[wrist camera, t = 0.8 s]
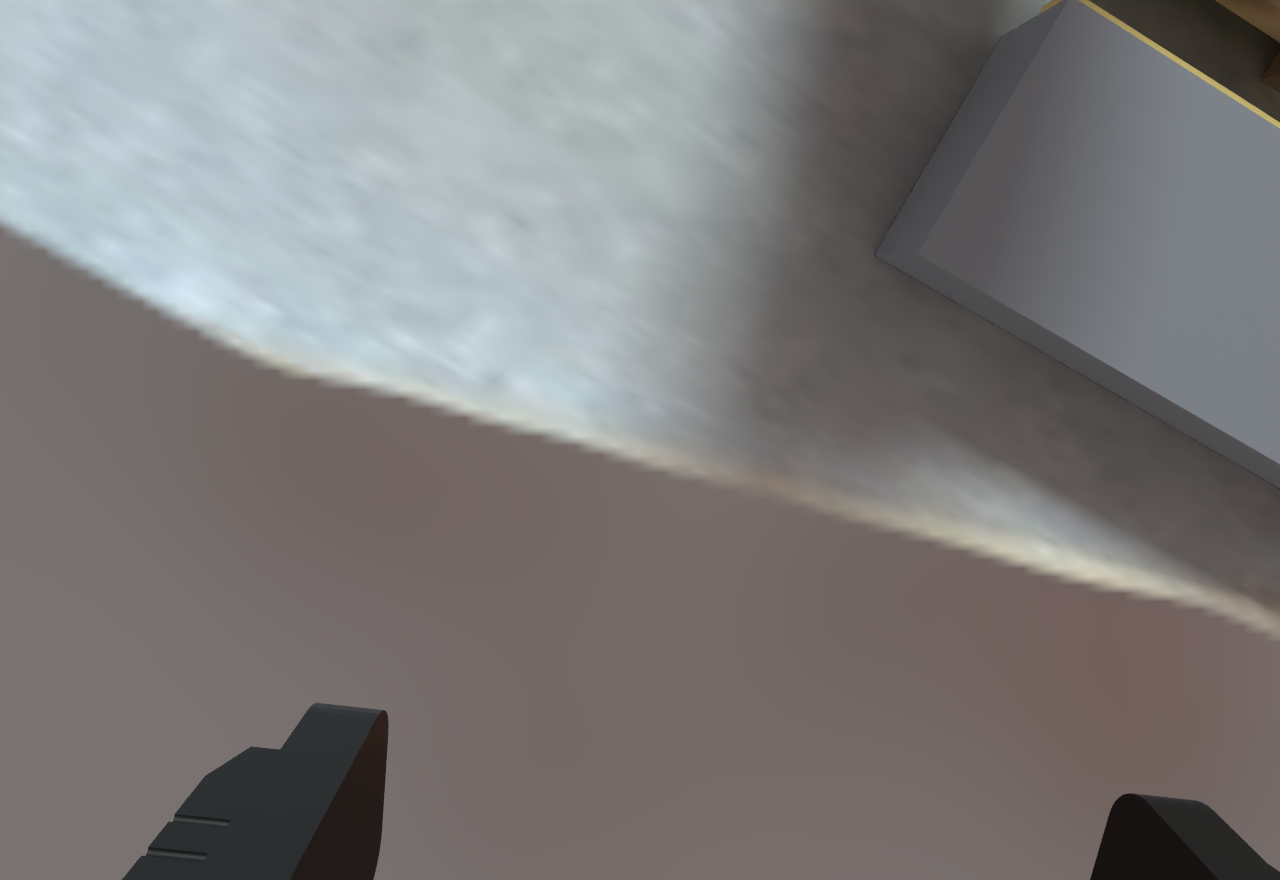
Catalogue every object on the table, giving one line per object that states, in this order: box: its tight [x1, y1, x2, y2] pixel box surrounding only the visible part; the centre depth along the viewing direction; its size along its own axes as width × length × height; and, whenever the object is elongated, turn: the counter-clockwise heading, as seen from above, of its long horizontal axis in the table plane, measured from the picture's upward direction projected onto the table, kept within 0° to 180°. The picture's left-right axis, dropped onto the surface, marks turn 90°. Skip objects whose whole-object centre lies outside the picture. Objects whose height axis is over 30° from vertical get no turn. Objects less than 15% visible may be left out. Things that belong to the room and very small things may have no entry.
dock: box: [874, 0, 1280, 489], centre depth 31 cm, size 9×23×5 cm, turn 62°
